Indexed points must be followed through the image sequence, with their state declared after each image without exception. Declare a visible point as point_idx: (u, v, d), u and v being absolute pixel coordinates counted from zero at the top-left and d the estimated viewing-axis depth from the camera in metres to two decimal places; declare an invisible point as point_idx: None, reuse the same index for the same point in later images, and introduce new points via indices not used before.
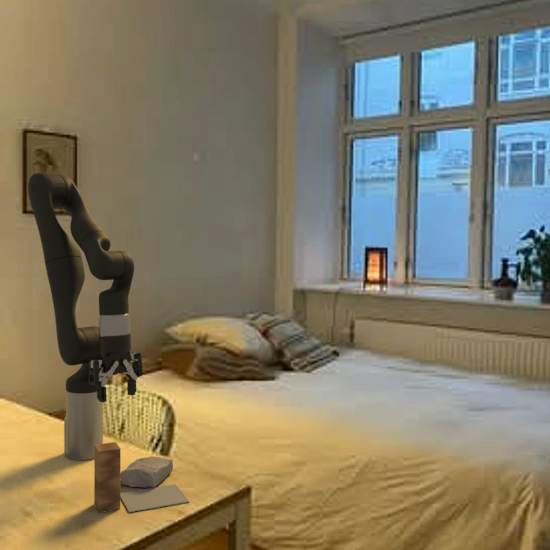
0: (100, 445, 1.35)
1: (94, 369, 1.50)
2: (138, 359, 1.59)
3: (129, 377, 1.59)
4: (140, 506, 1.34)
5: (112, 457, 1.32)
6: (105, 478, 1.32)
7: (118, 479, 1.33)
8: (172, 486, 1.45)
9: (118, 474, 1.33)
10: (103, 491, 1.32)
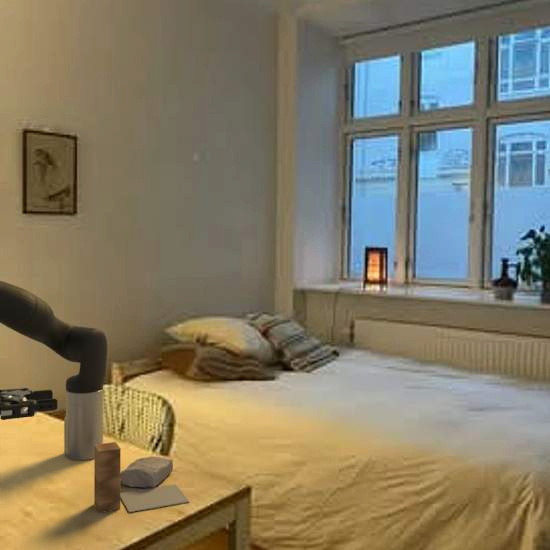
0: (100, 445, 1.34)
1: None
2: None
3: None
4: (140, 506, 1.34)
5: (112, 457, 1.32)
6: (105, 478, 1.32)
7: (118, 479, 1.33)
8: (172, 486, 1.45)
9: (118, 474, 1.33)
10: (103, 491, 1.32)
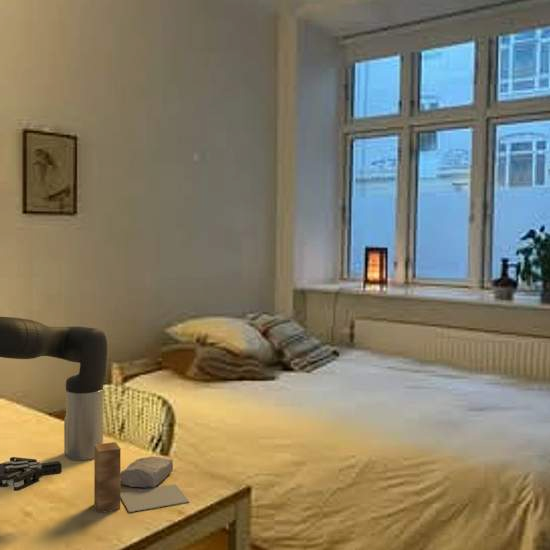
0: (100, 445, 1.34)
1: None
2: None
3: None
4: (140, 506, 1.34)
5: (112, 457, 1.32)
6: (105, 478, 1.32)
7: (118, 479, 1.33)
8: (172, 486, 1.45)
9: (118, 474, 1.33)
10: (103, 491, 1.32)
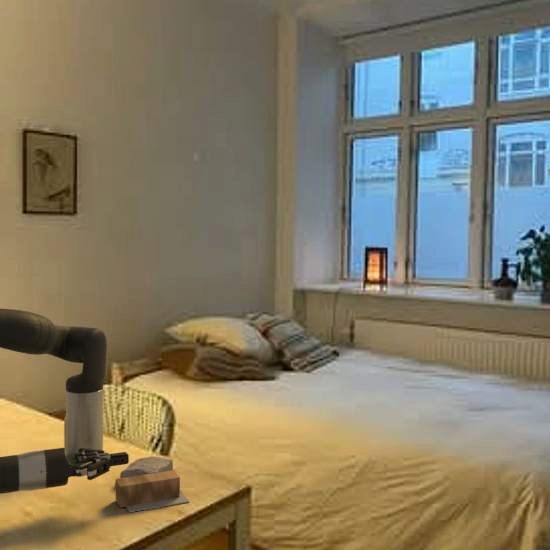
0: None
1: None
2: None
3: None
4: (140, 506, 1.34)
5: (172, 491, 1.39)
6: (153, 487, 1.37)
7: (150, 500, 1.37)
8: None
9: (155, 499, 1.37)
10: (141, 487, 1.35)
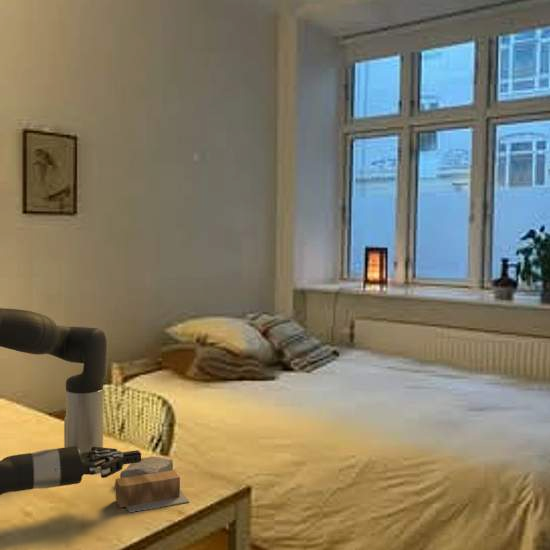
0: None
1: None
2: None
3: None
4: (140, 506, 1.34)
5: (172, 491, 1.39)
6: (153, 487, 1.37)
7: (150, 500, 1.37)
8: None
9: (155, 499, 1.37)
10: (141, 487, 1.35)
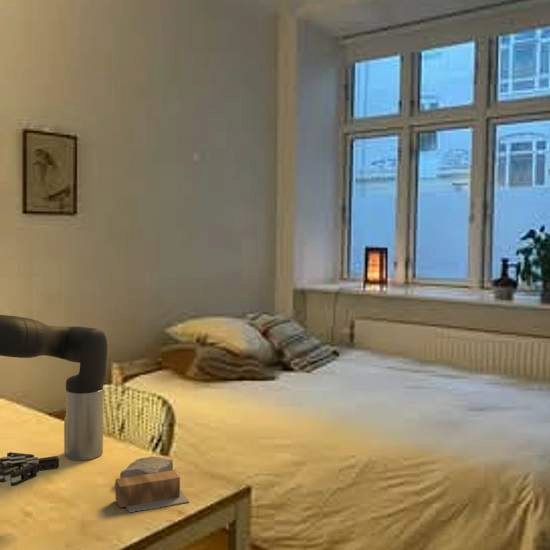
0: None
1: None
2: None
3: None
4: (140, 506, 1.34)
5: (172, 491, 1.39)
6: (153, 487, 1.37)
7: (150, 500, 1.37)
8: None
9: (155, 499, 1.37)
10: (141, 487, 1.35)
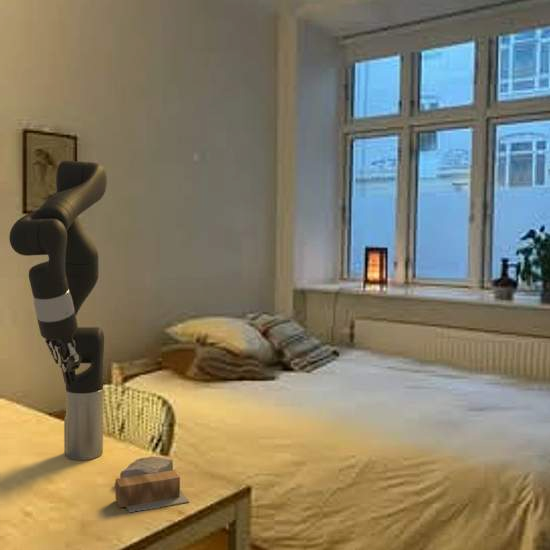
0: None
1: None
2: (68, 360, 1.31)
3: None
4: (140, 506, 1.34)
5: (172, 491, 1.39)
6: (153, 487, 1.37)
7: (150, 500, 1.37)
8: None
9: (155, 499, 1.37)
10: (141, 487, 1.35)
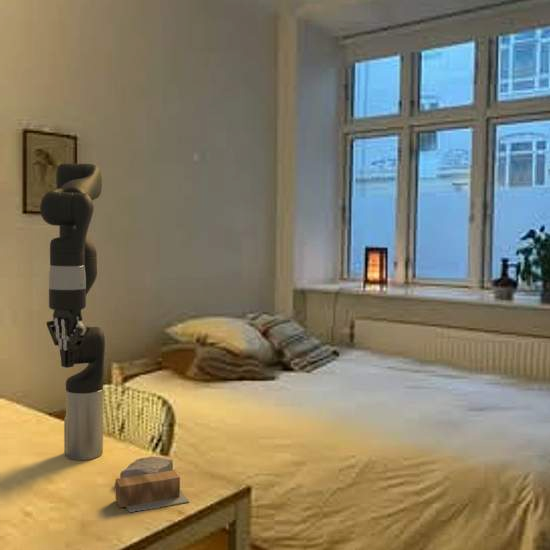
0: None
1: None
2: (75, 332, 1.32)
3: None
4: (140, 506, 1.34)
5: (172, 491, 1.39)
6: (153, 487, 1.37)
7: (150, 500, 1.37)
8: None
9: (155, 499, 1.37)
10: (141, 487, 1.35)
